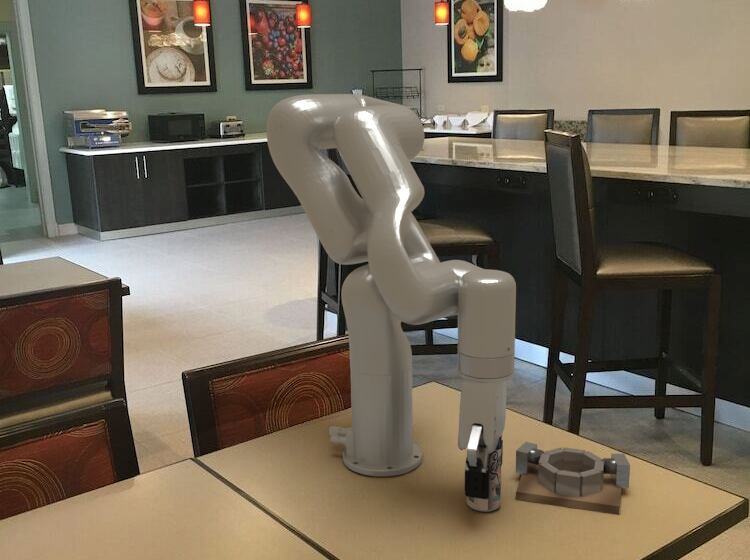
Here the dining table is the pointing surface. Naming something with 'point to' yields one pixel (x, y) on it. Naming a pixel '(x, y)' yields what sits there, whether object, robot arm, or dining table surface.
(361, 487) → the dining table surface
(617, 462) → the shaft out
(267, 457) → the dining table surface
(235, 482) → the dining table surface
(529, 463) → the shaft in
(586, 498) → the octagonal gimbal ring stand
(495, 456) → the beer can
